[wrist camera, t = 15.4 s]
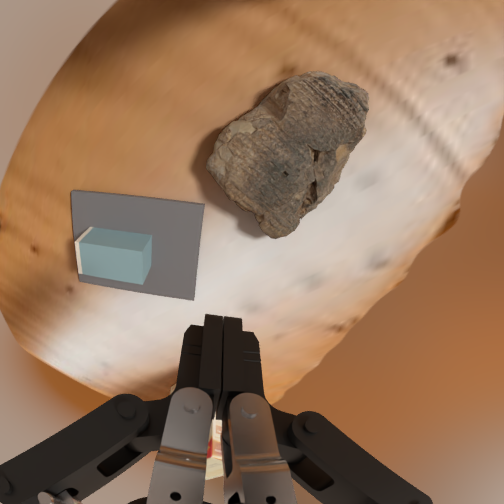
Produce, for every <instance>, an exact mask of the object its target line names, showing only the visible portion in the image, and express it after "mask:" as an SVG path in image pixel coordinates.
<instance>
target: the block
mask: <svg viewBox="0 0 504 504" xmlns="http://www.w3.org/2000/svg"><path fill="white" fill-rule="evenodd" d="M75 248H76V257H77V265H78V272H79V274H84V275H90V276H95V277H100V278H106V279H112V280H117V281H123V282H129V283H135V284H141V285H143V283H144V281H145V279H146V276H147V274H148V272H149V270H150V268H151V254H152V235H147V234H140V233H132V232H125V231H117V230H110V229H102V228H95V227H89V228H88V229H87V230H86V231H85V232H84V233H83V234H82V235H81V236H80V237H79V238H78V239H77V240H76V241H75Z"/></svg>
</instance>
